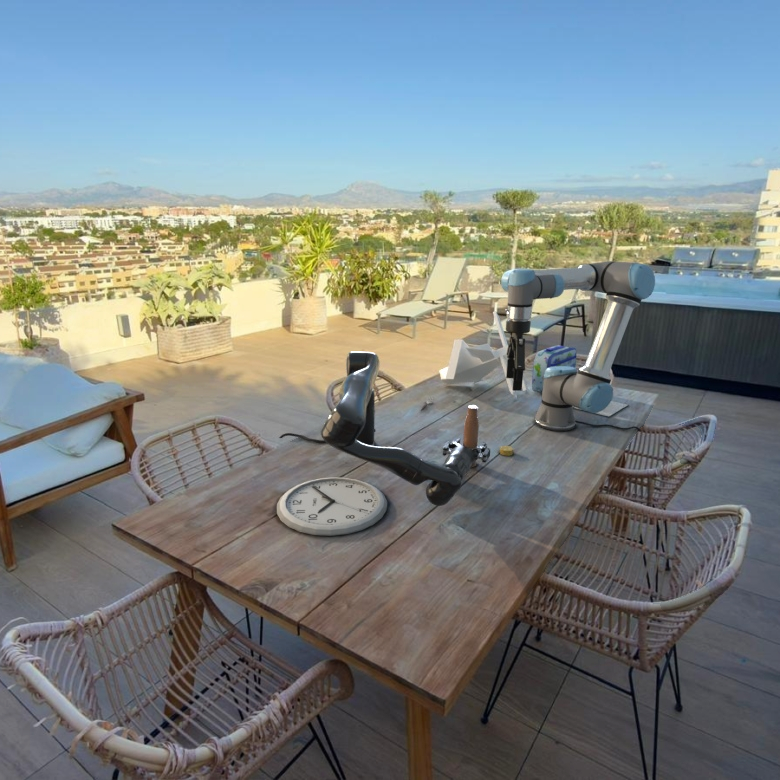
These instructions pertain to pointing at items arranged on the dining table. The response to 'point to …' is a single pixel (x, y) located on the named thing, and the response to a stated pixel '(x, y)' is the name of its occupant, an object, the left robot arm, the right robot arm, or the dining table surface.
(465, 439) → the bottle
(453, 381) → the white plastic object
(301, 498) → the wall clock
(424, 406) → the fork
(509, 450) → the cap
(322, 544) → the dining table surface
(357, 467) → the dining table surface
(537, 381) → the lunch box
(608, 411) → the invitation card
